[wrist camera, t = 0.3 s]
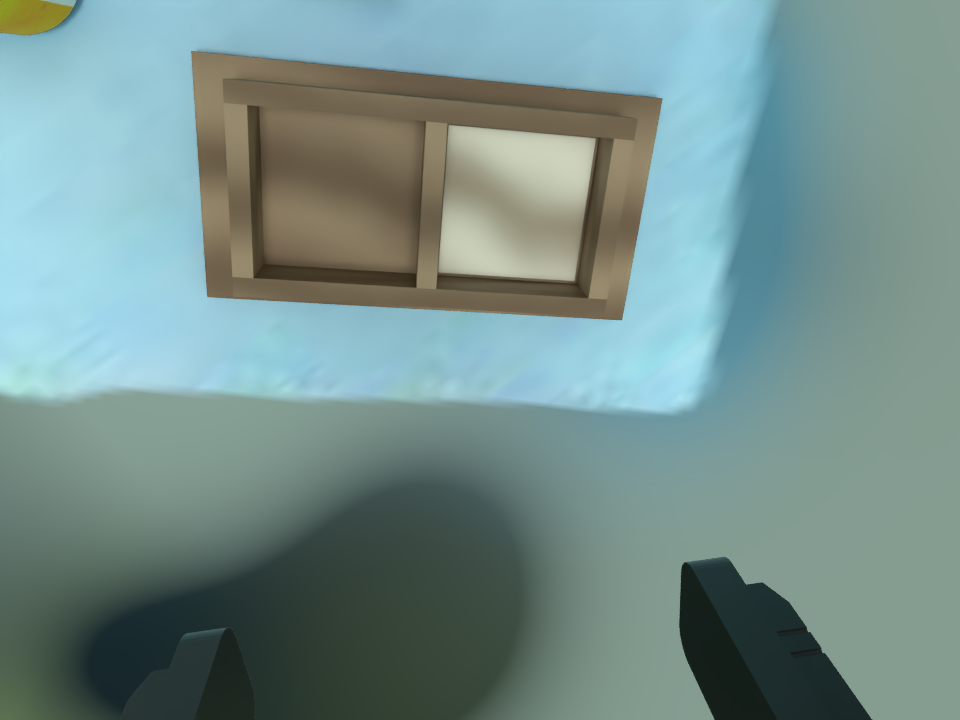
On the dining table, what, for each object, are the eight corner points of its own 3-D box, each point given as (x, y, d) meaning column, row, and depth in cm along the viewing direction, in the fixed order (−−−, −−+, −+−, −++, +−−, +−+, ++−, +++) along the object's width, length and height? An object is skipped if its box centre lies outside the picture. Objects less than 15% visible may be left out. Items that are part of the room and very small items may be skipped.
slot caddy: (196, 51, 32) (172, 48, 29) (656, 97, 35) (682, 100, 32) (211, 292, 37) (192, 313, 33) (617, 315, 40) (636, 336, 36)
